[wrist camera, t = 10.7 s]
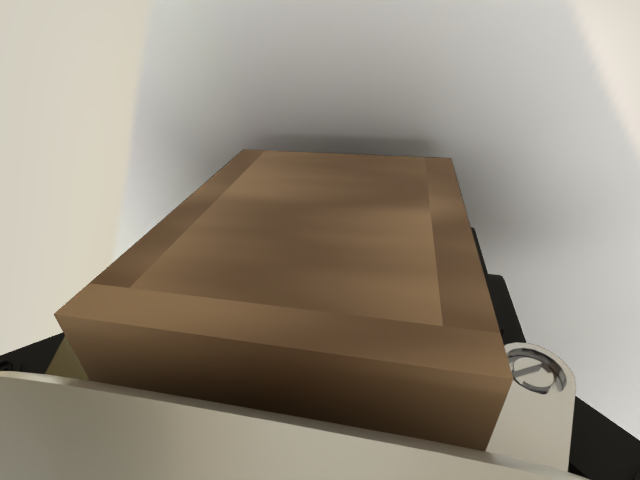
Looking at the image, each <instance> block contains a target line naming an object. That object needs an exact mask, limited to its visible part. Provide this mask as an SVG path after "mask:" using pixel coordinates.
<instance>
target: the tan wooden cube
mask: <svg viewBox="0 0 640 480" xmlns="http://www.w3.org/2000/svg"><path fill="white" fill-rule="evenodd" d="M54 316H55V317H56V319H57V321H58V323H59V325H60V327H61V329H62V330H63V332H64V334H65V336H66V338H67V339H68V341H69V343H70V345H71V347H72V349H73V350H74V352H75V354H76V356H77V358H78V360H79V361H80V363H81V365H82V367H83V369H84V370H85V372H86V374H87V376H88V378H89V380H90V381H93V382H100V383H106V384H112V385H117V386H123V387H129V388H135V389H141V390H147V391H153V392H159V393H165V394H170V395H176V396H182V397H188V398H194V399H200V400H205V401H211V402H217V403H222V404H228V405H234V406H240V407H245V408H251V409H257V410H262V411H268V412H274V413H279V414H285V415H291V416H296V417H302V418H308V419H313V420H319V421H324V422H330V423H335V424H341V425H346V426H352V427H357V428H363V429H368V430H374V431H380V432H385V433H391V434H396V435H402V436H407V437H413V438H418V439H424V440H429V441H434V442H439V443H444V444H449V445H454V446H459V447H464V448H469V449H474V450H479V451H484V452H485V451H486V449H487V446H488V444H489V441H490V438H491V436H492V433H493V431H494V428H495V426H496V423H497V420H498V418H499V415H500V413H501V410H502V408H503V405H504V402H505V400H506V397H507V395H508V392H509V389H510V387H511V384H512V382H513V376H512V372H511V369H510V365H509V362H508V358H507V355H506V351H505V347H504V344H503V340H502V337H501V333H500V330H499V326H498V323H497V319H496V316H495V312H494V308H493V305H492V301H491V298H490V294H489V291H488V287H487V284H486V280H485V277H484V273H483V269H482V266H481V262H480V259H479V255H478V252H477V248H476V245H475V241H474V238H473V234H472V230H471V227H470V223H469V220H468V216H467V213H466V209H465V206H464V202H463V199H462V195H461V191H460V188H459V184H458V181H457V177H456V174H455V170H454V167H453V163H452V160H451V158H434V157H410V156H386V155H362V154H339V153H315V152H291V151H267V150H242V151H241V152H240V153H239V154H238V155H236V156H235V157H234V158H233V159H232V160H231V161H230V162H228V163H227V164H226V165H225V166H224V167H223V168H222V169H220V170H219V171H218V172H217V173H216V174H215V175H213V176H212V177H211V178H210V179H209V180H208V181H207V182H205V183H204V184H203V185H202V186H201V187H200V188H198V189H197V190H196V191H195V192H194V193H193V194H192V195H190V196H189V197H188V198H187V199H186V200H185V201H184V202H182V203H181V204H180V205H179V206H178V207H177V208H175V209H174V210H173V211H172V212H171V213H170V214H169V215H167V216H166V217H165V218H164V219H163V220H162V221H160V222H159V223H158V224H157V225H156V226H155V227H154V228H152V229H151V230H150V231H149V232H148V233H147V234H145V235H144V236H143V237H142V238H141V239H140V240H139V241H137V242H136V243H135V244H134V245H133V246H132V247H131V248H129V249H128V250H127V251H126V252H125V253H124V254H122V255H121V256H120V257H119V258H118V259H117V260H116V261H114V262H113V263H112V264H111V265H110V266H109V267H107V269H106V270H104V271H103V272H102V273H101V274H99V275H98V276H97V277H96V278H95V279H94V280H93V281H91V282H90V283H89V284H88V285H87V286H86V287H84V288H83V289H82V290H81V291H80V292H79V293H78V294H76V295H75V296H74V297H73V298H72V299H71V300H70V301H69V302H67V303H66V304H65V305H64V306H63V307H61V308H60V309H59V310H58V311H57V312H56V313H55V314H54Z"/></svg>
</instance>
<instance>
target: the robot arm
mask: <svg viewBox="0 0 640 480" xmlns="http://www.w3.org/2000/svg"><path fill="white" fill-rule="evenodd" d="M471 230H472V234H473V238H474V241H475V245H476V248H477V252H478V255H479V259H480V262H481V266H482V269H483V273H484V277H485V280H486V284H487V287H488V291H489V294H490V298H491V301H492V305H493V308H494V312H495V316H496V319H497V323H498V326H499V330H500V333H501V337H502V340H503V344H504V347H505V351H506V355H507V358H508V362H509V365H510V369H511V372H512V376H513V382H512V384H511V387H510V389H509V392H508V395H507V397H506V400H505V402H504V405H503V408H502V410H501V413H500V415H499V418H498V420H497V423H496V426H495V428H494V431H493V433H492V436H491V438H490V441H489V444H488V446H487V449H486V451H485V452H484V451H479V450H474V449H469V448H464V447H459V446H454V445H449V444H444V443H439V442H434V441H429V440H424V439H418V438H413V437H407V436H402V435H396V434H391V433H385V432H380V431H374V430H368V429H363V428H357V427H352V426H346V425H341V424H335V423H330V422H324V421H319V420H313V419H308V418H302V417H296V416H291V415H285V414H279V413H274V412H268V411H262V410H257V409H251V408H245V407H240V406H234V405H228V404H222V403H217V402H211V401H205V400H200V399H194V398H188V397H182V396H176V395H170V394H165V393H159V392H153V391H147V390H141V389H135V388H129V387H123V386H117V385H112V384H106V383H100V382H93V381H90V380H89V378H88V376H87V374H86V372H85V370H84V369H83V367H82V365H81V363H80V361H79V360H78V358H77V356H76V354H75V352H74V350H73V349H72V347H71V345H70V343H69V341H68V339H67V338H66V336H65V334H64V332H63V333H60V334H58V335H55V336H52V337H49V338H47V339H44V340H42V341H39V342H36V343H33V344H31V345H28V346H26V347H22V348H20V349H17V350H15V351H12V352H9V353H6V354H4V355H1V356H0V480H640V441H639V440H638V439H637V438H635V437H634V436H632V435H631V434H629V433H628V432H626V431H625V430H624V429H622V428H621V427H619V426H618V425H616V424H615V423H614V422H612V421H611V420H609V419H608V418H606V417H605V416H604V415H602V414H601V413H599V412H598V411H596V410H595V409H594V408H592V407H591V406H589V405H588V404H586V403H585V402H584V401H582V400H581V399H579V398H578V397H576V396H575V392H576V383H575V377H574V375H573V373H572V372H571V370H570V368H569V367H568V366H567V365H566V364H565V363H564V362H563V361H562V359H560V358H559V357H557V356H556V355H555V354H553V353H552V352H550V351H548V350H546V349H544V348H542V347H540V346H536V345H533V344H529V343H526V340H525V338H524V335H523V332H522V329H521V326H520V323H519V320H518V318H517V315H516V312H515V309H514V306H513V303H512V300H511V298H510V295H509V292H508V289H507V286H506V283H505V281H504V279H503V277H502V276H501V275H492V274H488V273H487V269H486V266H485V263H484V259H483V256H482V253H481V249H480V246H479V243H478V239H477V236H476V232H475V229H474V228H472V227H471Z"/></svg>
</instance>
